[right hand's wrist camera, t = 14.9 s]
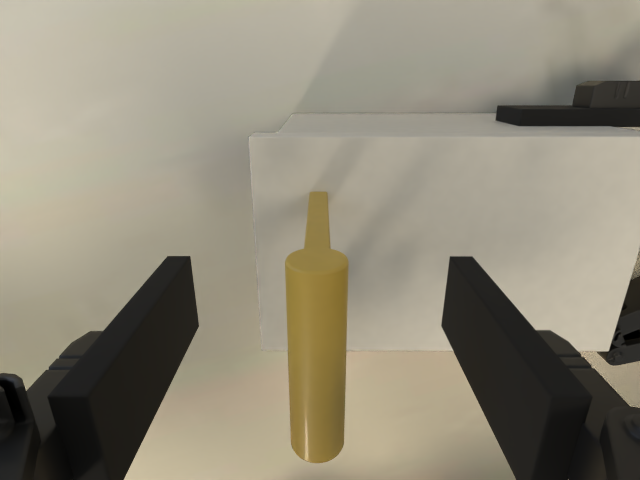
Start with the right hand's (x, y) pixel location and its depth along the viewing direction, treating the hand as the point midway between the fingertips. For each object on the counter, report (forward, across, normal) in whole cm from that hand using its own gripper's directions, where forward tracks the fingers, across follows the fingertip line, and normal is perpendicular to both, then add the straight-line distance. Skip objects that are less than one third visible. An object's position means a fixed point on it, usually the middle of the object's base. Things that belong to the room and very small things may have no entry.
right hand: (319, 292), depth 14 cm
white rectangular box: (+4, -5, 0) cm, 7 cm away
